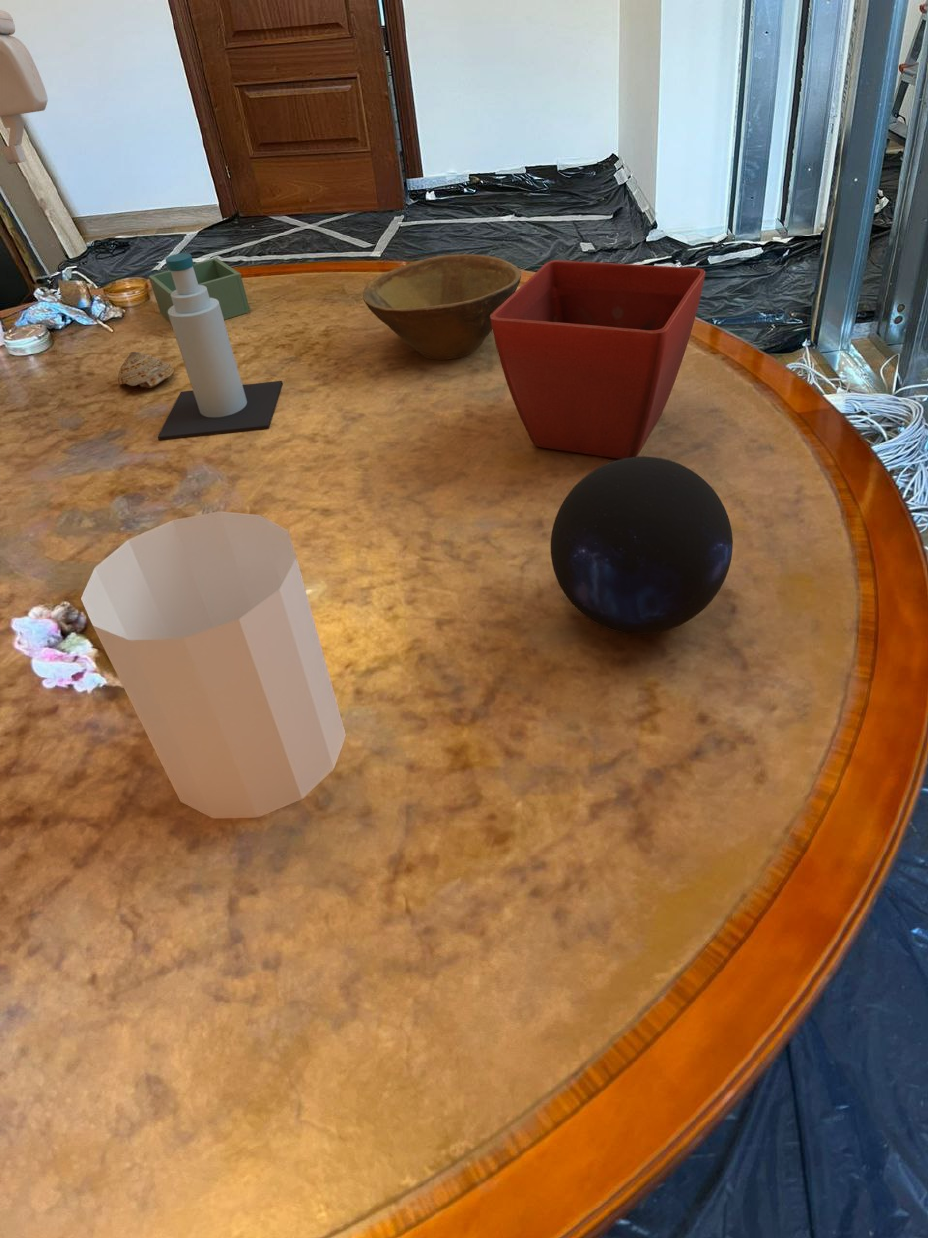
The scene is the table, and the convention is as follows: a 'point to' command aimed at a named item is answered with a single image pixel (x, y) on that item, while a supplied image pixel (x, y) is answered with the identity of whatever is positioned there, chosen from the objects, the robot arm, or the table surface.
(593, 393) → the flower pot
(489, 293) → the bowl
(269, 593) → the container
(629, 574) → the decorative sphere
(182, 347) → the bottle
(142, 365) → the seashell
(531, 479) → the table surface
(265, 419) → the mat
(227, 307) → the green open box
